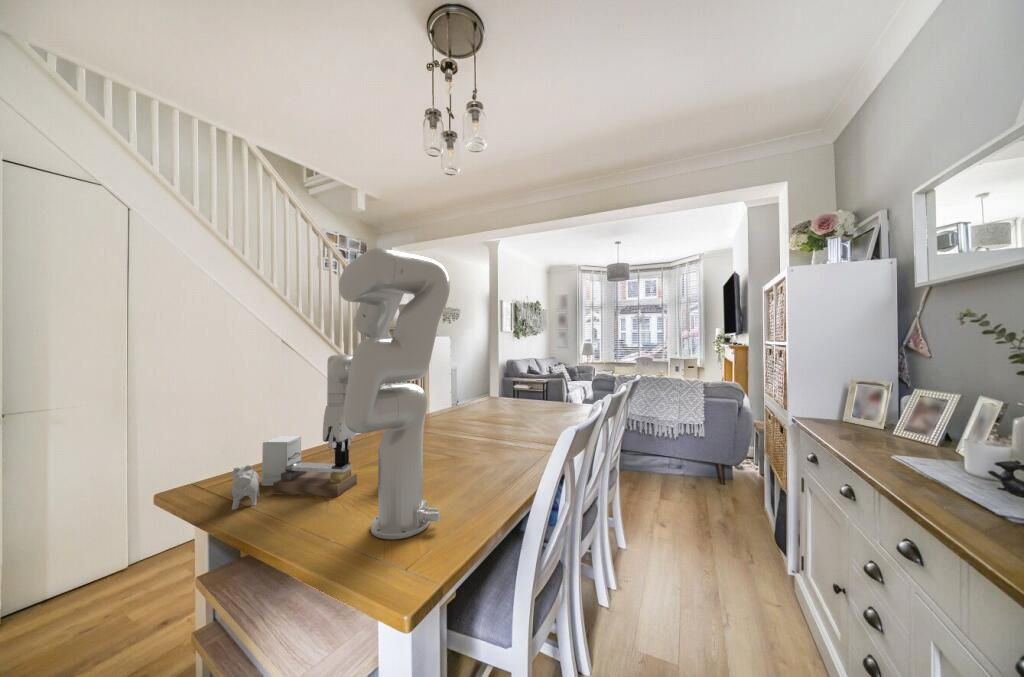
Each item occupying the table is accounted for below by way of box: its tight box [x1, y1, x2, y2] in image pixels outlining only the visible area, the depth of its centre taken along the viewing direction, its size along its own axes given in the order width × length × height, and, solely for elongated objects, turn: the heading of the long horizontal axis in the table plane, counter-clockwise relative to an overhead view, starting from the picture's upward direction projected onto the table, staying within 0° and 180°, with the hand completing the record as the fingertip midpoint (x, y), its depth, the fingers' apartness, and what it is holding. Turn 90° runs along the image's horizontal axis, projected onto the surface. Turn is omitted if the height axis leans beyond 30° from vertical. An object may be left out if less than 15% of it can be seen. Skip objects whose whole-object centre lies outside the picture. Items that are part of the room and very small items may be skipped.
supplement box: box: [261, 435, 302, 487], centre depth 107 cm, size 7×7×13 cm
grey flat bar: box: [285, 460, 353, 473], centre depth 101 cm, size 17×5×2 cm, turn 83°
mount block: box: [272, 468, 358, 498], centre depth 101 cm, size 19×9×5 cm, turn 83°
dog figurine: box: [230, 464, 260, 511], centre depth 91 cm, size 5×13×11 cm, turn 31°
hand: (341, 464), depth 100 cm, fingers closed
